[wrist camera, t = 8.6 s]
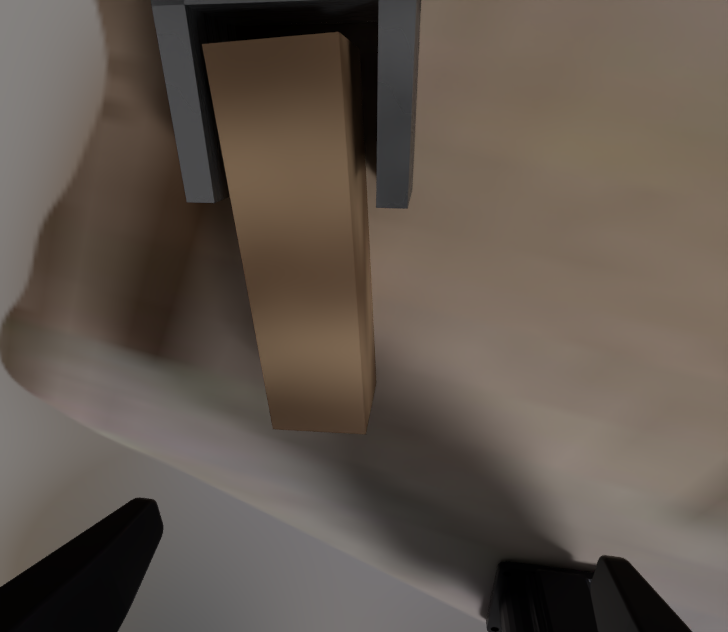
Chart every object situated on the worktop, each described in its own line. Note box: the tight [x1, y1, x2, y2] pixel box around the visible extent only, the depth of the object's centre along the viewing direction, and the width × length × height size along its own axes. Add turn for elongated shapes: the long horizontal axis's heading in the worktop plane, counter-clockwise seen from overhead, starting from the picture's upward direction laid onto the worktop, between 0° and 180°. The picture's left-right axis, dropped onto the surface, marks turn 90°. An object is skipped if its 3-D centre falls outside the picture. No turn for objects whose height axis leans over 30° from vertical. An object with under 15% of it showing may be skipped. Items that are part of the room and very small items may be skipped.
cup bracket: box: [151, 0, 421, 209], centre depth 12 cm, size 8×10×8 cm
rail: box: [202, 32, 376, 434], centre depth 17 cm, size 14×4×4 cm, turn 3°
